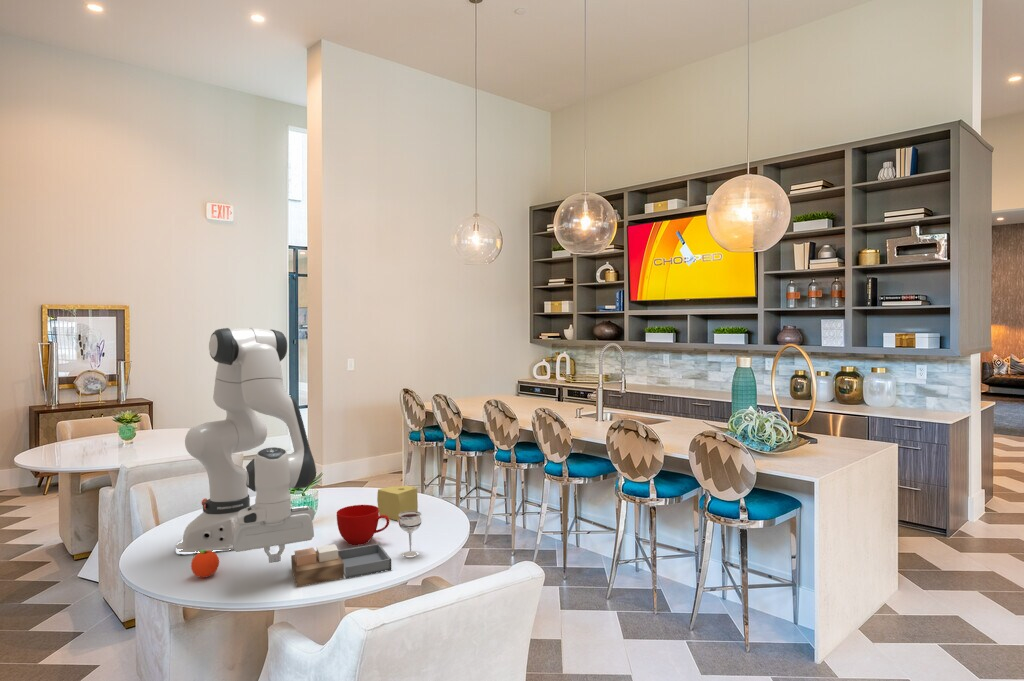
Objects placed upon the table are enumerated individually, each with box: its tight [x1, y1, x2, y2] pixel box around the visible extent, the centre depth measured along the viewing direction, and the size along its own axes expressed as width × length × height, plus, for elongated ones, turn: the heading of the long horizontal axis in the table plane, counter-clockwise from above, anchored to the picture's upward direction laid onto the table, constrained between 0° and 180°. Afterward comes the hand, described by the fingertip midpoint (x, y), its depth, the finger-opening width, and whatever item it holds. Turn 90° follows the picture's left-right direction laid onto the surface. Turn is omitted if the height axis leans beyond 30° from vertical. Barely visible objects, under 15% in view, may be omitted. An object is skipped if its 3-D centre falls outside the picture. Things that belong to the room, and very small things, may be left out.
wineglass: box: [397, 510, 422, 556], centre depth 182 cm, size 7×7×12 cm
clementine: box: [190, 550, 220, 578], centre depth 168 cm, size 8×7×7 cm
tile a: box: [316, 543, 339, 562], centre depth 170 cm, size 5×5×2 cm
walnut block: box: [290, 550, 345, 588], centre depth 168 cm, size 12×13×4 cm
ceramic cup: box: [336, 504, 390, 547], centre depth 193 cm, size 13×17×10 cm
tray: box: [338, 543, 392, 579], centre depth 174 cm, size 12×14×3 cm
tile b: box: [294, 547, 316, 566], centre depth 167 cm, size 5×5×2 cm
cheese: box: [376, 484, 419, 522], centre depth 220 cm, size 10×11×10 cm
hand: (274, 561), depth 164 cm, fingers closed
